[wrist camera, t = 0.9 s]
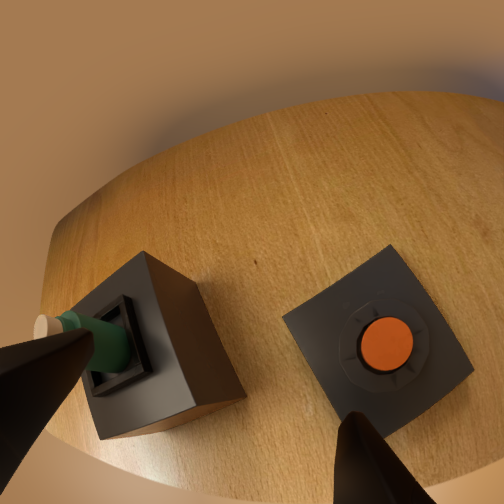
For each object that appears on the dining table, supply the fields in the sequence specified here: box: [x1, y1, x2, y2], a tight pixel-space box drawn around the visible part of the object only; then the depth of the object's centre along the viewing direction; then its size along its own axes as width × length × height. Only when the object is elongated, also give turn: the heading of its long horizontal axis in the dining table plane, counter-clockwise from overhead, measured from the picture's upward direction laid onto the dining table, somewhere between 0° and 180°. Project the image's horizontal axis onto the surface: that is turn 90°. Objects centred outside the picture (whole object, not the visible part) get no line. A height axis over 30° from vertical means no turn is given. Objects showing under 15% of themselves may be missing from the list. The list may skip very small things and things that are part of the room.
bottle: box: [34, 310, 131, 374], centre depth 15 cm, size 4×4×6 cm
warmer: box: [70, 251, 247, 440], centre depth 20 cm, size 12×10×9 cm
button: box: [361, 317, 413, 371], centre depth 15 cm, size 3×3×2 cm
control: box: [282, 244, 474, 439], centre depth 17 cm, size 12×10×4 cm
